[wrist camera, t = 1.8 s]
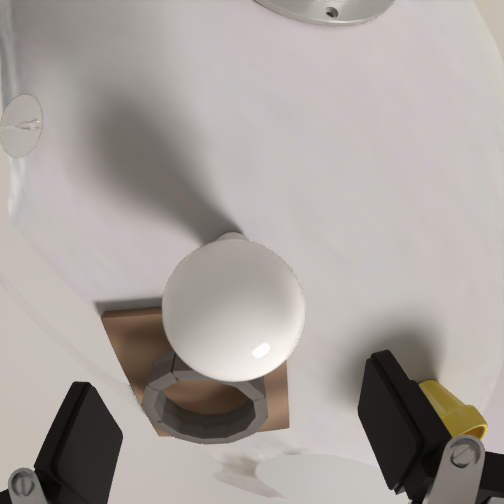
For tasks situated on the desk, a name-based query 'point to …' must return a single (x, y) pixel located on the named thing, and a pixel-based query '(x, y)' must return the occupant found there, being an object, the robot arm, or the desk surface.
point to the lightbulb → (233, 309)
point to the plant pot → (454, 411)
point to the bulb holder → (191, 386)
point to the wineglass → (21, 125)
